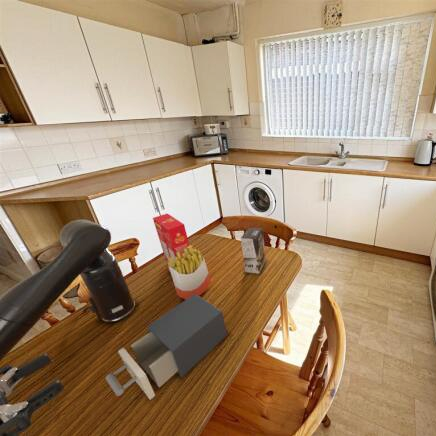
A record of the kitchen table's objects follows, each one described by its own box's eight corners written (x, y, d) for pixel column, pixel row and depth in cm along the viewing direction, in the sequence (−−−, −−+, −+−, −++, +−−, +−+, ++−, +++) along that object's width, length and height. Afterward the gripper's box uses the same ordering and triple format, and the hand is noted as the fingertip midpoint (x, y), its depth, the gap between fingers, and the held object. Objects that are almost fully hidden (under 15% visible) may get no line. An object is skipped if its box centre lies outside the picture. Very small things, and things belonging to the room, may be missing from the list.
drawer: (130, 418, 51) (118, 396, 48) (109, 386, 57) (97, 365, 54) (201, 354, 64) (195, 333, 61) (177, 333, 70) (171, 314, 67)
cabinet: (181, 377, 59) (172, 351, 55) (156, 350, 66) (146, 326, 62) (227, 335, 70) (222, 311, 66) (201, 316, 77) (195, 293, 73)
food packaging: (198, 281, 92) (184, 224, 82) (185, 288, 89) (168, 229, 78) (182, 266, 102) (167, 213, 91) (169, 272, 98) (152, 217, 88)
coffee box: (259, 274, 96) (255, 239, 89) (244, 272, 97) (239, 237, 90) (266, 260, 104) (263, 228, 97) (252, 259, 105) (248, 227, 98)
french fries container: (212, 286, 90) (203, 245, 82) (187, 305, 81) (174, 262, 74) (204, 282, 92) (194, 242, 84) (179, 300, 83) (166, 257, 76)
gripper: (-85, 444, 37) (54, 361, 48) (-93, 531, 29) (75, 408, 41) (-121, 416, 34) (36, 335, 45) (-141, 506, 26) (56, 380, 38)
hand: (54, 370), depth 43 cm, fingers open, 8 cm apart
